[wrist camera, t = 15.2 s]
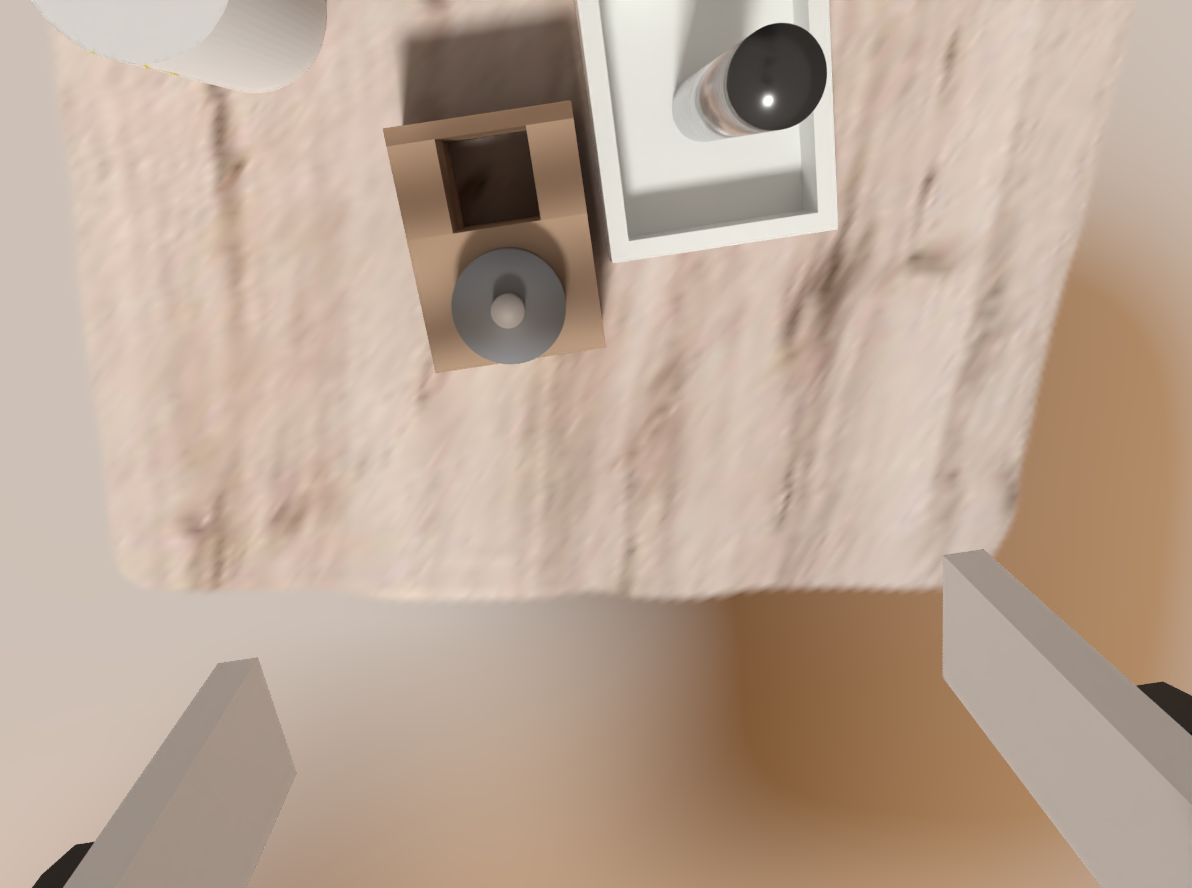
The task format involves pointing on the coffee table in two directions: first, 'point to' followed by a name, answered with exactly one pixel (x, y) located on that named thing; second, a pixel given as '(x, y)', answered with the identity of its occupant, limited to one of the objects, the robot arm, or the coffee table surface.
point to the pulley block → (499, 245)
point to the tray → (685, 167)
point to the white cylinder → (199, 37)
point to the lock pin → (753, 86)
